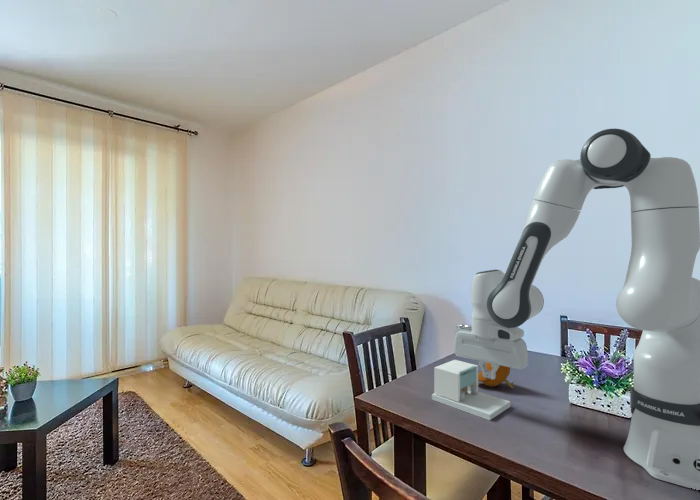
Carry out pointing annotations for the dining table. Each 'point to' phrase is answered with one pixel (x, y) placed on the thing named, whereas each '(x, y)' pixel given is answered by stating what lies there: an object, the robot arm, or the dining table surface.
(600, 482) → the dining table surface
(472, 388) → the white peg base plate
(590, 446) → the dining table surface
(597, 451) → the dining table surface
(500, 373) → the toy
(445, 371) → the cover
